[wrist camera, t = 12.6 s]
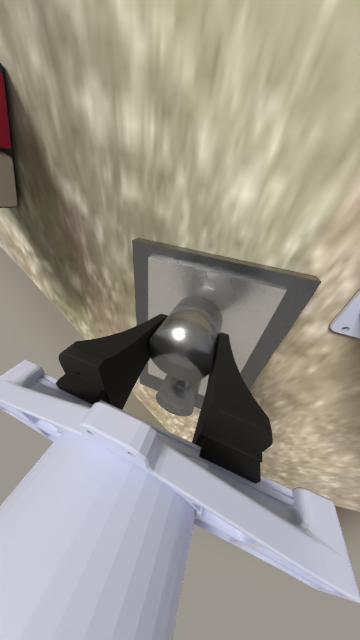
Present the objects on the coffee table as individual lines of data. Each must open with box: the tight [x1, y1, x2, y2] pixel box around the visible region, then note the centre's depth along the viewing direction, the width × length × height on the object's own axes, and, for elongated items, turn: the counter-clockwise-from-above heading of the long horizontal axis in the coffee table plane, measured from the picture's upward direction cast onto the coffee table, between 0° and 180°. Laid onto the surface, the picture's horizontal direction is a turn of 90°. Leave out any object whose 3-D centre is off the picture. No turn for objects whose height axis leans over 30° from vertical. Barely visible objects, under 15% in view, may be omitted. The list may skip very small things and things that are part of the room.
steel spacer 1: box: [148, 296, 223, 381], centre depth 13 cm, size 4×4×5 cm
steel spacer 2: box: [156, 375, 202, 416], centre depth 20 cm, size 4×4×5 cm
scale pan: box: [148, 256, 287, 396], centre depth 19 cm, size 12×18×1 cm, turn 173°
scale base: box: [132, 238, 321, 409], centre depth 21 cm, size 16×24×2 cm, turn 173°
